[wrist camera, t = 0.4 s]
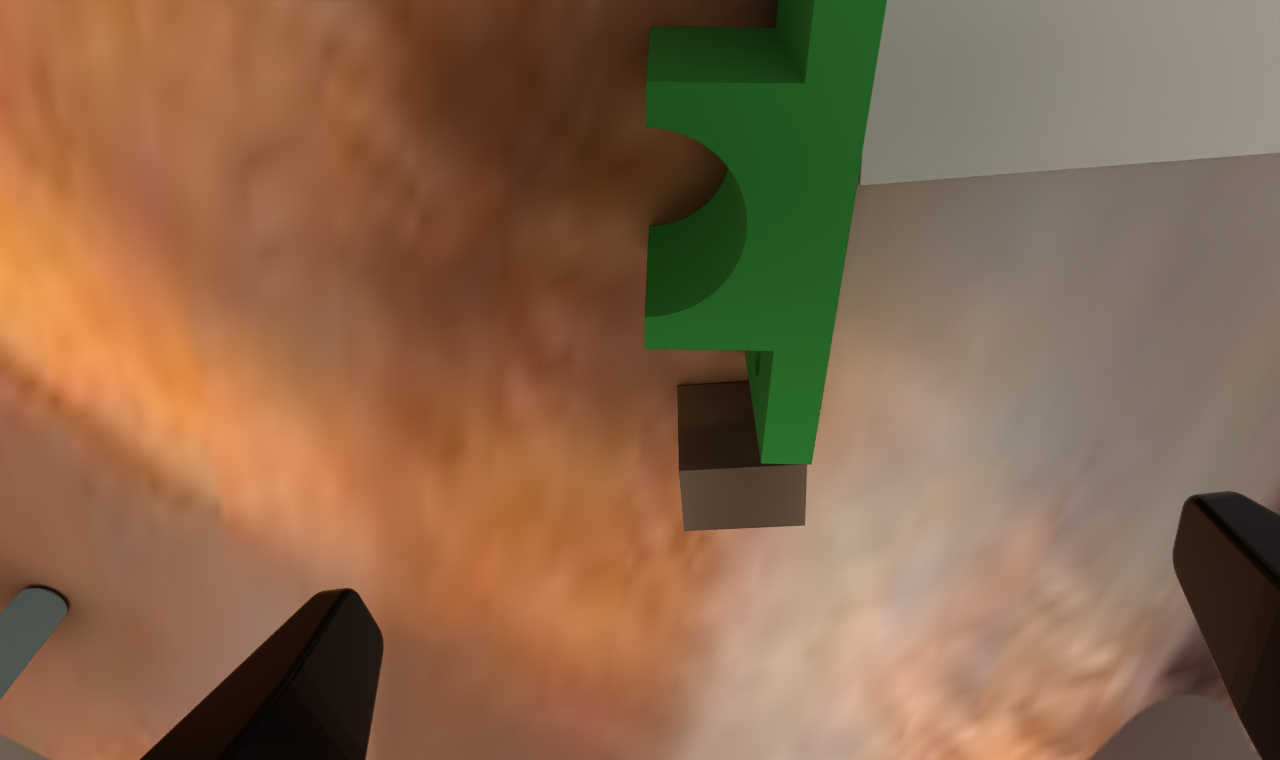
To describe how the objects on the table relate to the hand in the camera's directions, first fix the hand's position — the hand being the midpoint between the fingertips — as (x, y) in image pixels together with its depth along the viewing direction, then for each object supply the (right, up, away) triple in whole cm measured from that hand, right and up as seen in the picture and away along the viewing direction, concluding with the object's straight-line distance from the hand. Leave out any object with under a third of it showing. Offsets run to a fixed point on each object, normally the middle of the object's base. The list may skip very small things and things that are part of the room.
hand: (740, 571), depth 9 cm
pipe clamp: (+1, +8, +10) cm, 12 cm away
